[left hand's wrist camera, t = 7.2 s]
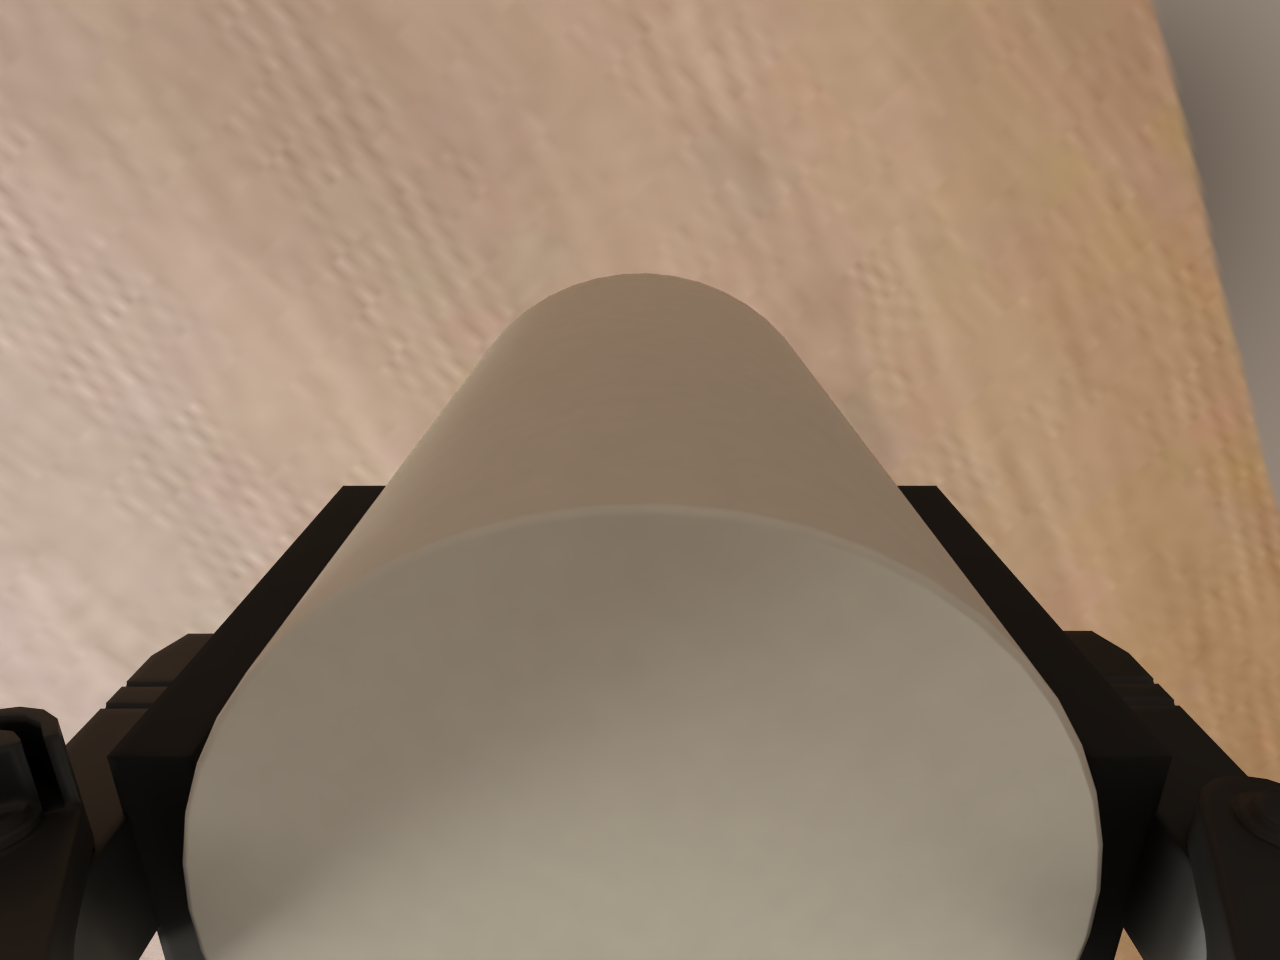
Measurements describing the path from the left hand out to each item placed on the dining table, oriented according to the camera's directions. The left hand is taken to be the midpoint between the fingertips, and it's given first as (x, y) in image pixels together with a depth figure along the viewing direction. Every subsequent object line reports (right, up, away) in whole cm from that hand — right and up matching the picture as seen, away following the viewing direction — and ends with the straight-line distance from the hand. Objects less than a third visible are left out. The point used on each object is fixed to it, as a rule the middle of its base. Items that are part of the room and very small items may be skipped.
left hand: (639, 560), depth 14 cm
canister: (0, +2, +5) cm, 5 cm away
